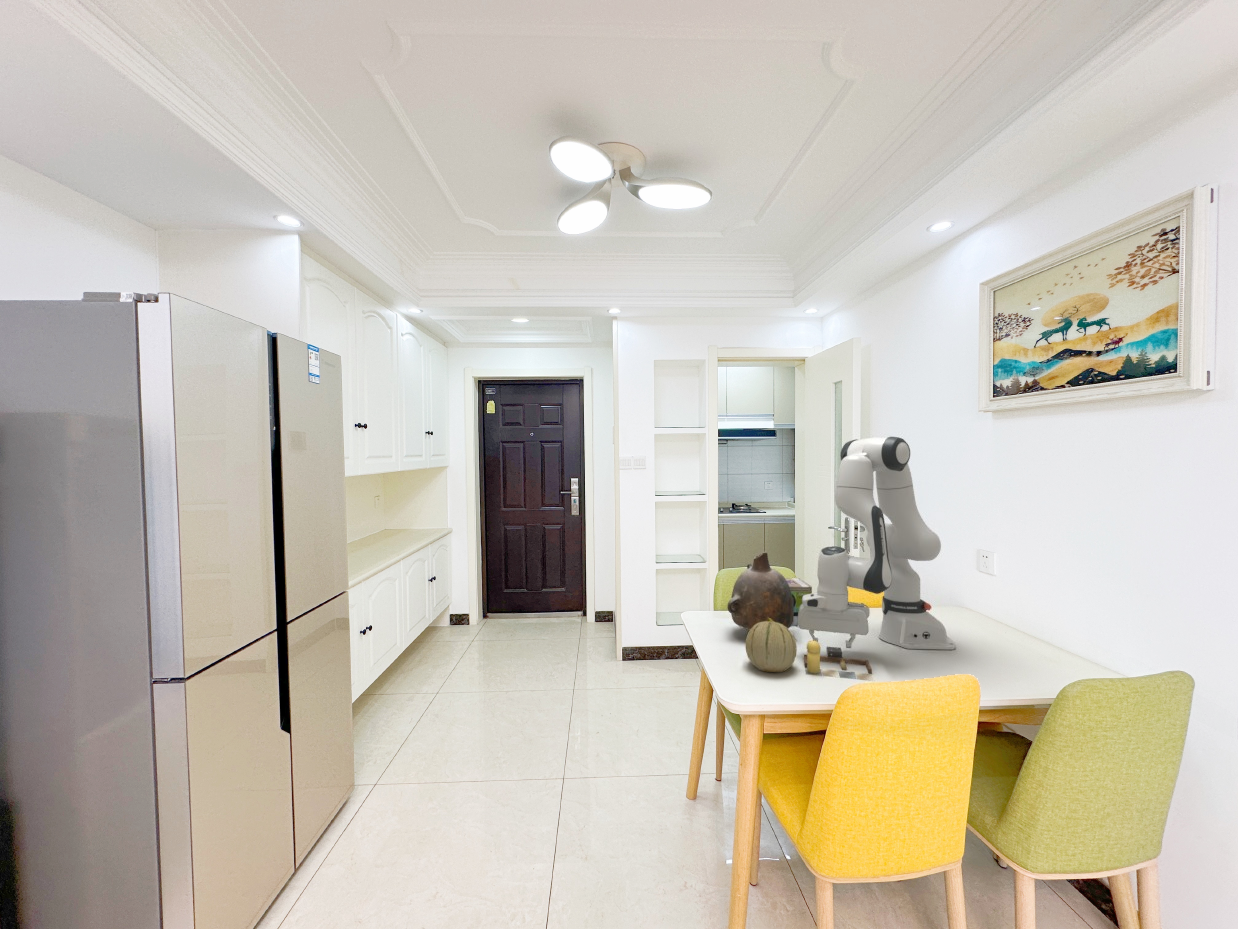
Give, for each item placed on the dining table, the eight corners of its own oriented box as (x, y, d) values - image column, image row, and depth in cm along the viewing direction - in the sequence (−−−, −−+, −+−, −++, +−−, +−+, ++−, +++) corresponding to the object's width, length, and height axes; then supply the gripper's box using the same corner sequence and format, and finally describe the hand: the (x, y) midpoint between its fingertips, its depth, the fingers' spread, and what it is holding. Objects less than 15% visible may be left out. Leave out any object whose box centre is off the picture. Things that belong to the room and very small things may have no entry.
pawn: (820, 669, 155) (820, 639, 155) (820, 674, 152) (821, 644, 152) (806, 668, 157) (806, 638, 156) (806, 673, 153) (806, 642, 153)
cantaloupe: (760, 684, 149) (760, 630, 149) (736, 664, 163) (736, 615, 163) (807, 678, 152) (807, 626, 152) (780, 659, 167) (780, 611, 166)
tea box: (812, 626, 199) (812, 586, 199) (785, 626, 199) (785, 586, 199) (800, 614, 214) (799, 577, 214) (774, 614, 214) (774, 577, 214)
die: (840, 660, 166) (840, 647, 166) (842, 665, 162) (842, 652, 162) (826, 659, 167) (826, 646, 167) (827, 664, 163) (827, 650, 163)
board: (868, 668, 159) (868, 660, 159) (875, 685, 147) (874, 676, 147) (803, 662, 164) (803, 654, 164) (805, 678, 152) (805, 669, 152)
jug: (753, 621, 205) (753, 543, 204) (807, 634, 190) (806, 549, 189) (716, 637, 188) (715, 551, 187) (771, 652, 173) (770, 559, 172)
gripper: (868, 601, 164) (867, 646, 164) (797, 595, 170) (796, 639, 170) (871, 606, 158) (870, 653, 158) (798, 600, 164) (797, 645, 164)
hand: (831, 645), depth 164 cm, fingers open, 8 cm apart
